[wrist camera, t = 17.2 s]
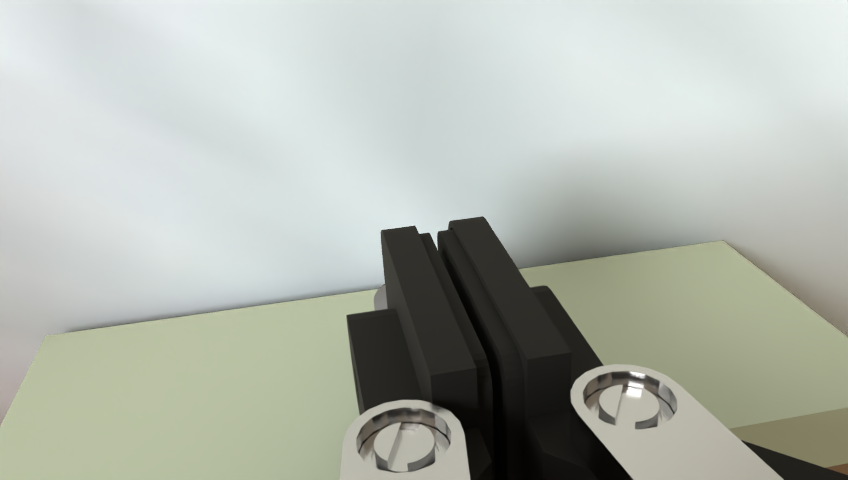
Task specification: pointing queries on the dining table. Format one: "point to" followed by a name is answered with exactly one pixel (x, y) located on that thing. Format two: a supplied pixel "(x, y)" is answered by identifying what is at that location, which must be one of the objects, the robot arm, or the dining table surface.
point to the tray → (335, 388)
